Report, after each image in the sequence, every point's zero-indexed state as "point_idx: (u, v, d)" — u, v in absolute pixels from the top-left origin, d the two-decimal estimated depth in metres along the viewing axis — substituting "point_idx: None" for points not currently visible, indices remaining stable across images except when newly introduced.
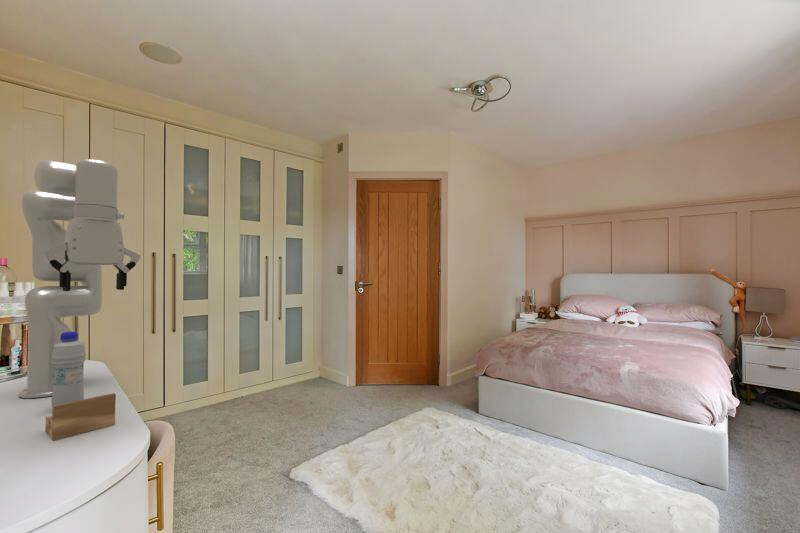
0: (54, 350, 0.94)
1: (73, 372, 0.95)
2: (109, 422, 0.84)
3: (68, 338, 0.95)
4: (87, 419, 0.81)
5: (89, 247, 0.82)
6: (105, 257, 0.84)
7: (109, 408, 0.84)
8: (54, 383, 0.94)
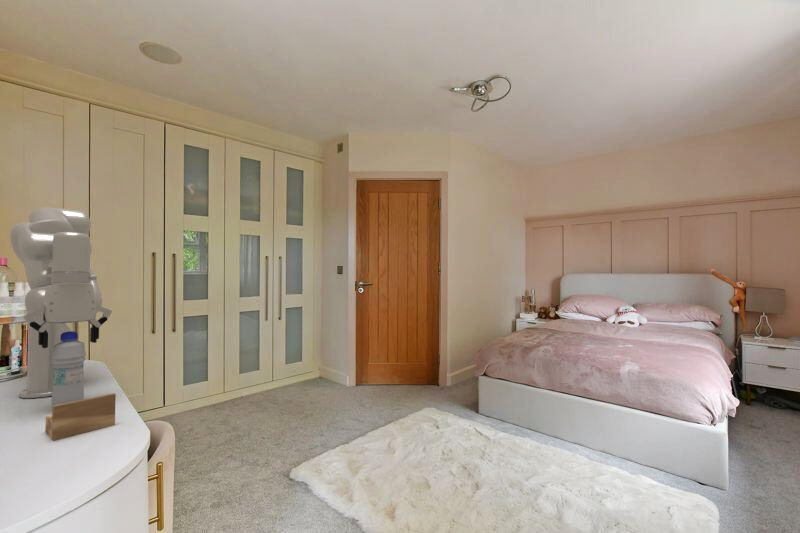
0: (54, 350, 0.94)
1: (73, 372, 0.95)
2: (109, 422, 0.84)
3: (68, 338, 0.95)
4: (87, 419, 0.81)
5: (65, 309, 0.94)
6: (79, 316, 0.96)
7: (109, 408, 0.84)
8: (54, 383, 0.94)
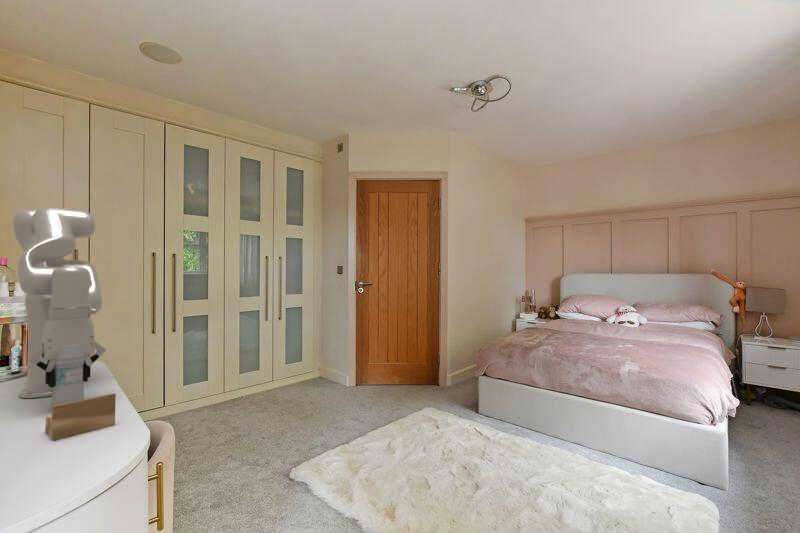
0: None
1: (73, 372, 0.95)
2: (109, 422, 0.84)
3: None
4: (87, 419, 0.81)
5: (63, 345, 0.94)
6: None
7: (109, 408, 0.84)
8: None
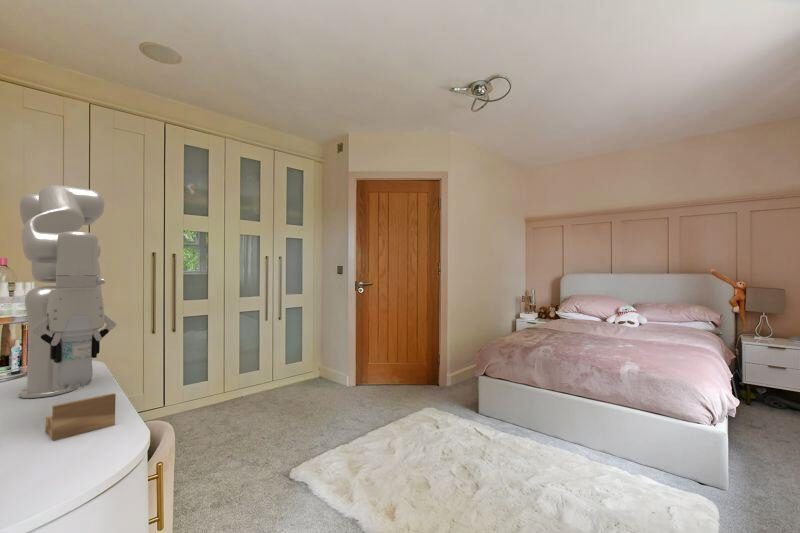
0: None
1: (81, 346, 0.86)
2: (109, 422, 0.84)
3: None
4: (87, 419, 0.81)
5: (70, 316, 0.85)
6: None
7: (109, 408, 0.84)
8: None
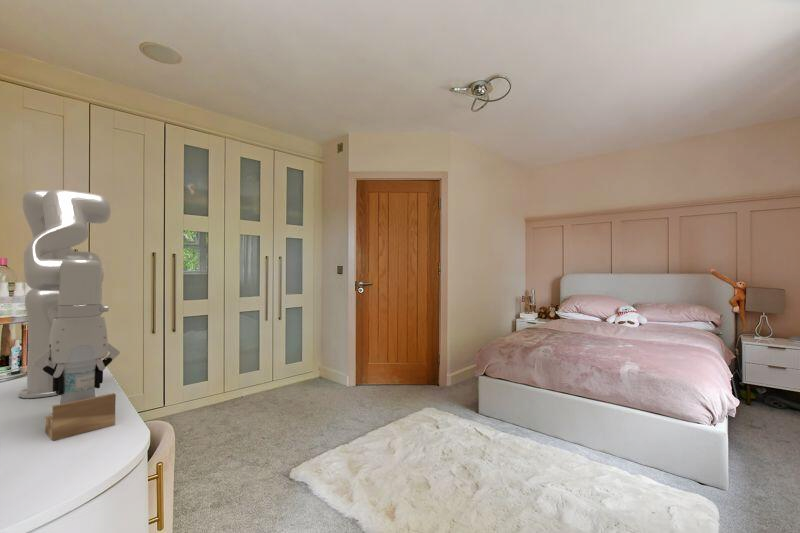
0: None
1: (84, 378, 0.84)
2: (109, 422, 0.84)
3: None
4: (87, 419, 0.81)
5: (73, 347, 0.83)
6: None
7: (109, 408, 0.84)
8: None
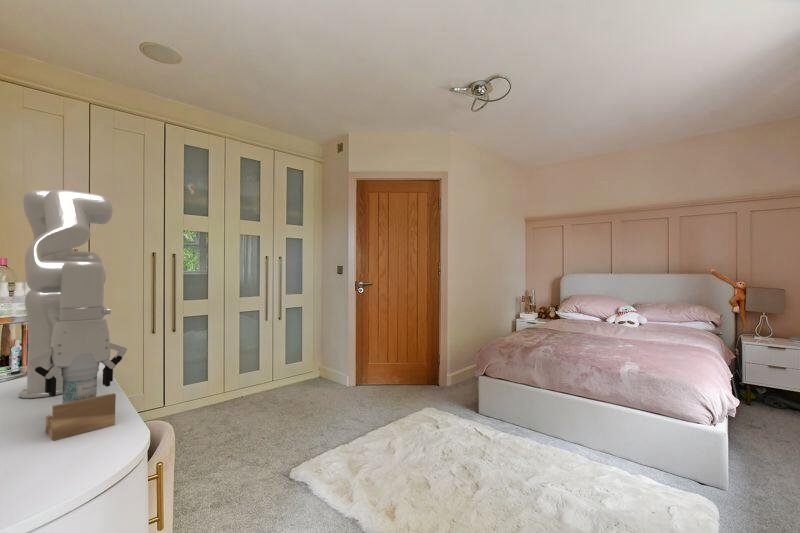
0: None
1: (85, 386, 0.83)
2: (109, 422, 0.84)
3: None
4: (87, 419, 0.81)
5: (75, 350, 0.82)
6: None
7: (109, 408, 0.84)
8: (64, 398, 0.82)
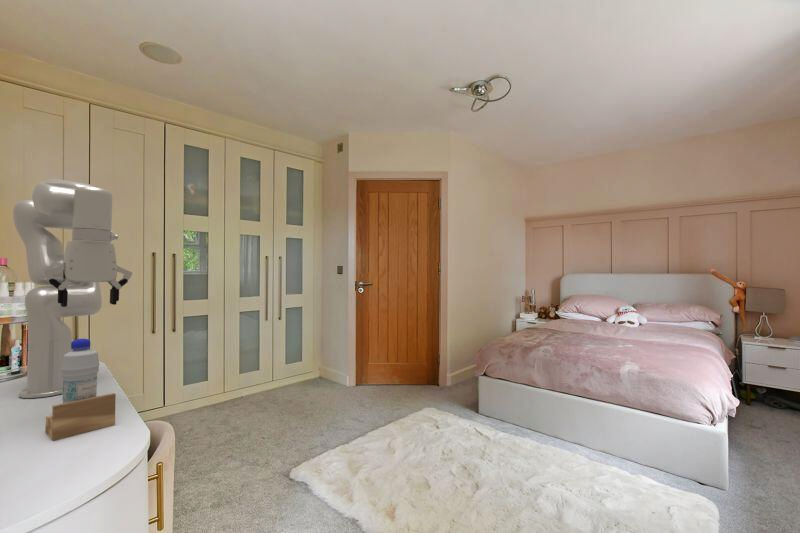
0: (64, 360, 0.82)
1: (85, 386, 0.83)
2: (109, 422, 0.84)
3: (80, 346, 0.83)
4: (87, 419, 0.81)
5: (85, 267, 0.90)
6: (99, 275, 0.92)
7: (109, 408, 0.84)
8: (64, 398, 0.82)
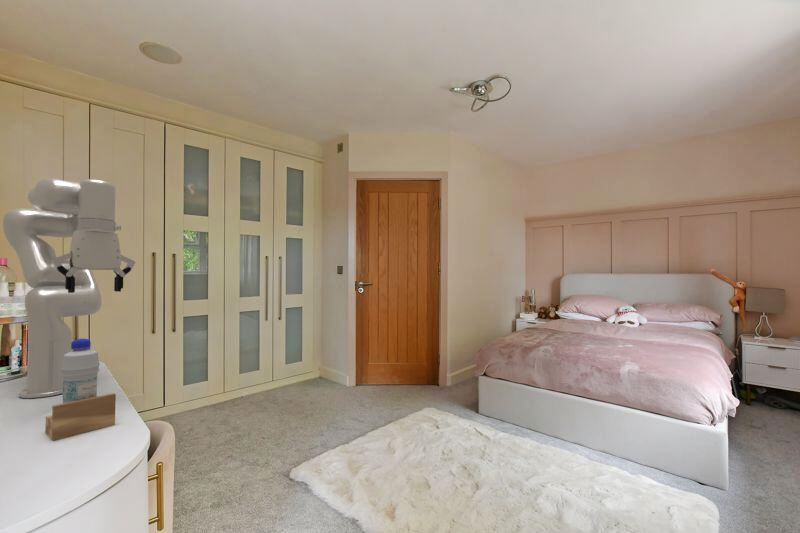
0: (64, 360, 0.82)
1: (85, 386, 0.83)
2: (109, 422, 0.84)
3: (80, 346, 0.83)
4: (87, 419, 0.81)
5: (91, 255, 0.95)
6: (104, 263, 0.97)
7: (109, 408, 0.84)
8: (64, 398, 0.82)
